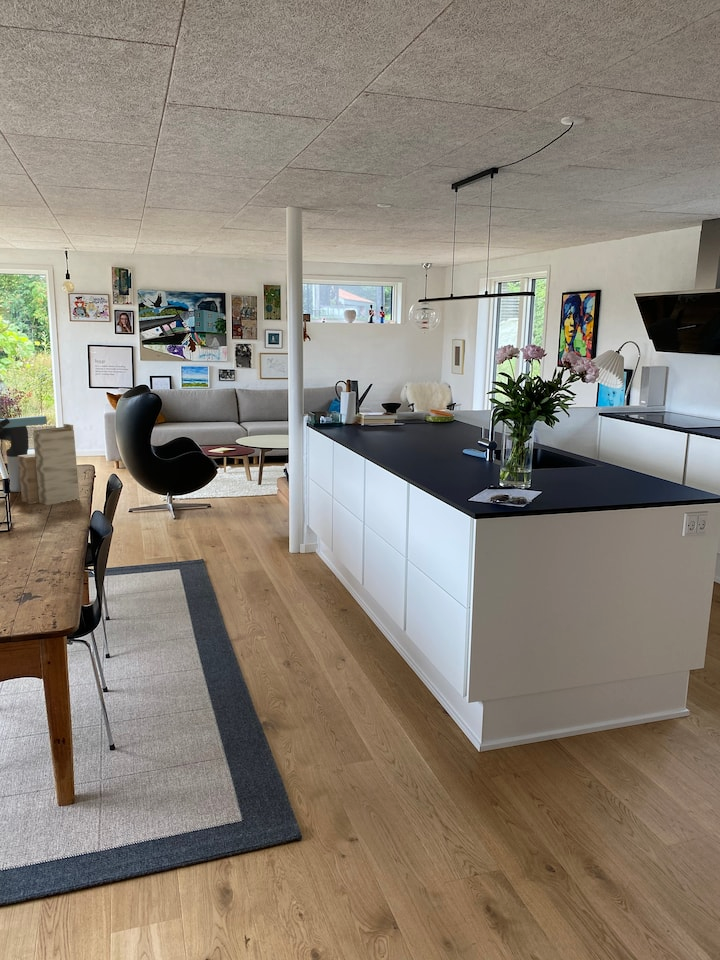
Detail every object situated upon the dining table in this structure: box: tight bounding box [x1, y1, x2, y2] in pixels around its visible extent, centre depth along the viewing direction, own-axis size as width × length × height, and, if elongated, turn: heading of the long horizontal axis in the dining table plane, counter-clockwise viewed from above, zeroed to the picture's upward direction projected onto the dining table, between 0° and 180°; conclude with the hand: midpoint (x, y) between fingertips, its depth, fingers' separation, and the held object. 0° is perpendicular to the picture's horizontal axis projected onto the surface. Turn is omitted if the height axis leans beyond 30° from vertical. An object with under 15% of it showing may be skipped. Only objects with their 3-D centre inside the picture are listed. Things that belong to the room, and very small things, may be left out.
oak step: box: [18, 453, 39, 505], centre depth 336 cm, size 8×14×21 cm, turn 138°
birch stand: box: [32, 423, 80, 506], centre depth 332 cm, size 8×15×34 cm, turn 138°
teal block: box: [0, 415, 48, 428], centre depth 317 cm, size 4×22×4 cm, turn 139°
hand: (6, 419), depth 312 cm, fingers closed on teal block, 3 cm apart
